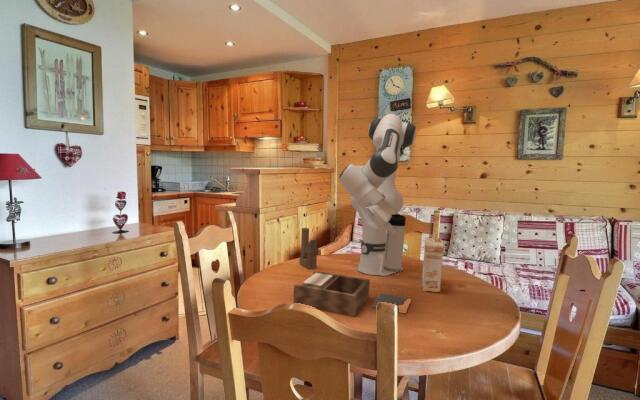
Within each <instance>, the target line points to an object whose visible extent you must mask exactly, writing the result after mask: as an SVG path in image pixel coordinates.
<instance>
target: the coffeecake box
mask: <svg viewBox="0 0 640 400" xmlns="http://www.w3.org/2000/svg"><path fill="white" fill-rule="evenodd" d="M424 241H425V242H424V250H423V251H424V253H423V264H422V265H423V266H422V278H421V279H422V282H421V283H422V286H423V289H424V290H434V291H440V292H441V283H442V282H441V281H442V271H443V259H444V258H443V257H444V248H445V247H444V243H443V240H442V238H436V237H425V239H424ZM423 289H422V290H423Z"/></svg>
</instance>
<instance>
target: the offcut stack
mask: <svg viewBox="0 0 640 400" xmlns="http://www.w3.org/2000/svg"><path fill="white" fill-rule="evenodd" d="M332 279H333V275H327V274H321V273H315V274H314V275H313V274H312V275H311V276H310V277H308V278H307V279H306V280H304V281H303V282H302V284H303V285H305V286H310V287H316V288H321V289H323V288H324V287H325V286H326V285H327V284H328V283H330V282H331V281H332Z"/></svg>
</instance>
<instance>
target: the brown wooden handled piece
mask: <svg viewBox="0 0 640 400" xmlns="http://www.w3.org/2000/svg"><path fill="white" fill-rule="evenodd" d="M309 238H310V228H309V227H302V228H301V244H300V247H301V248H300V256H299V265H301V266H302V267H306V268H307V269H308V270H315V269H317V255H318V239H311V240H310V239H309Z"/></svg>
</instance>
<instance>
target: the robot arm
mask: <svg viewBox="0 0 640 400" xmlns="http://www.w3.org/2000/svg"><path fill="white" fill-rule="evenodd" d="M367 131H368V137H369V139H370V140H372V144H373V146H374V147H375V148H376V150H375V151H374V153H373V154H372V155H371V157H370V158H369V159H368V161H367V162H366V163H365V164H364V165H355V164H353V163H350V164H348V165H346V167H345V168H343V170H342V171H341V173H340V174H339V176H338V179H339V182H340V184H341V185H342V187H343V188H344V190H345V191H346V193H348V195H349V196H350V204H351V206H352V207H353V209H354V210H355V211H356V212H357V213H358V215H359V218H360V220H361V221H360V222H361V224H362V237H361V238H362V240H361V243H360V249H361V250H360V251H361V253H360V257H359V258H360V259H359V262H358V265H357V271H358V272H359V273H361V274H365V275H372V276H381V277H388V276H391V275H393V273H394V274H396V272H390V271H387V270H385V269H384V257H385V246H386V235H387V230H388V231H390V232H391V233H392V234H393V235H394V234H395V233H397V230H396V229H395V228H394V227H393V226H392V225H391V224H390V223H389V221H390V220H391V219H390V218H391V217H392V215H395V214H399V212H401V211H402V210H403V207H404V201H405V200H404V198H403V194H401V192H400V191H398V189H397V187H396V174H397V169H398V167H399V163H400V155H401V154H400V152H401V148H402V150H405V149H406V148H409V147H411V145H413V144H414V142H415V140H416V138H417V134H418V133H417V128H416V126H415V124H413V123H411V122H405V121H402V119H401V117H400V116H398V115H397V114H394V113H389V114H388V113H387V114H386V115H384V116H383V117H382V118H374V119H373V120H372V121H371V122H370V124H369V126H368V129H367ZM401 270H403V271H404V267H402V266H401ZM390 274H391V275H390Z"/></svg>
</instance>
